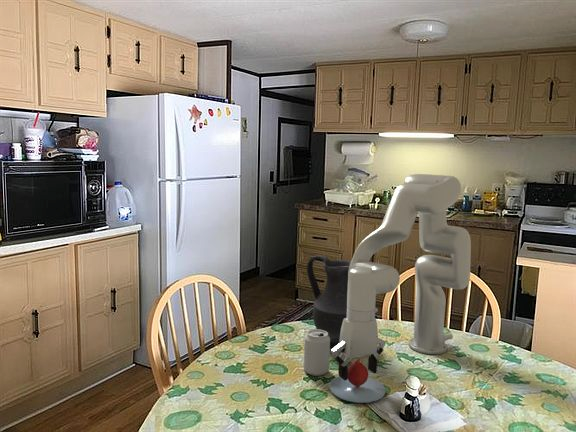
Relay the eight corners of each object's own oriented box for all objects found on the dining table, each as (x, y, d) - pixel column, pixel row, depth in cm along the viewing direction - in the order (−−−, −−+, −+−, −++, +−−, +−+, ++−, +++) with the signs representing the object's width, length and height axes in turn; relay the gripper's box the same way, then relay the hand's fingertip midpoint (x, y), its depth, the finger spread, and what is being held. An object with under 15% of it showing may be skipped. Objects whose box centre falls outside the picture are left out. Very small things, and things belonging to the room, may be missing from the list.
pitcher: (349, 359, 151) (353, 266, 147) (293, 344, 162) (295, 257, 158) (370, 342, 166) (374, 257, 162) (317, 329, 176) (320, 249, 173)
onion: (354, 394, 127) (355, 365, 126) (342, 385, 132) (342, 357, 131) (372, 389, 130) (372, 360, 129) (359, 380, 135) (359, 353, 134)
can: (327, 378, 138) (328, 338, 136) (301, 375, 139) (302, 335, 138) (330, 367, 145) (331, 329, 144) (305, 364, 147) (307, 326, 145)
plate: (362, 374, 141) (363, 370, 141) (396, 397, 128) (396, 393, 128) (319, 384, 134) (319, 380, 134) (350, 410, 121) (350, 406, 121)
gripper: (377, 306, 135) (374, 363, 138) (325, 314, 127) (323, 375, 130) (395, 314, 129) (391, 374, 131) (341, 323, 121) (338, 387, 123)
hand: (357, 374), depth 130 cm, fingers open, 9 cm apart
